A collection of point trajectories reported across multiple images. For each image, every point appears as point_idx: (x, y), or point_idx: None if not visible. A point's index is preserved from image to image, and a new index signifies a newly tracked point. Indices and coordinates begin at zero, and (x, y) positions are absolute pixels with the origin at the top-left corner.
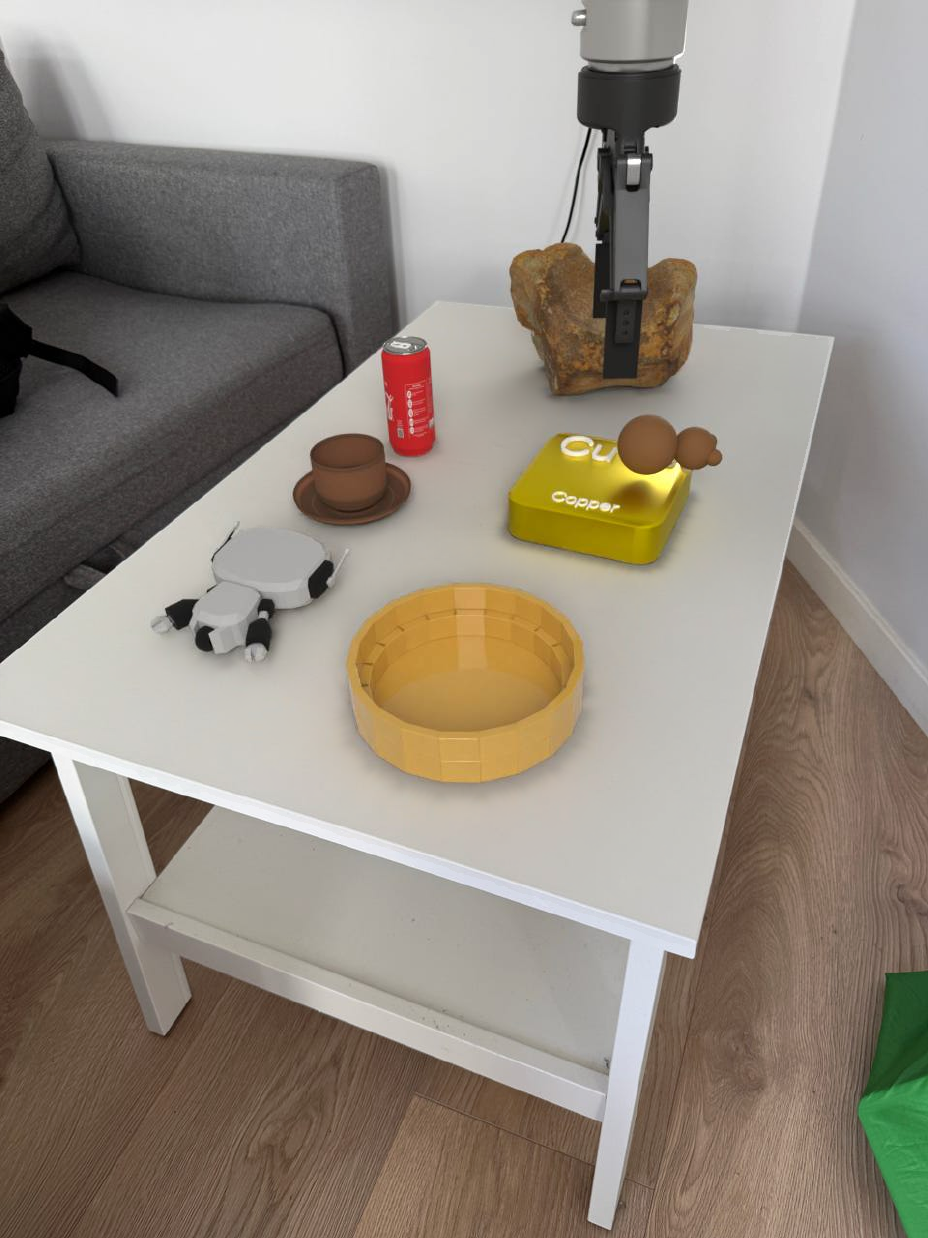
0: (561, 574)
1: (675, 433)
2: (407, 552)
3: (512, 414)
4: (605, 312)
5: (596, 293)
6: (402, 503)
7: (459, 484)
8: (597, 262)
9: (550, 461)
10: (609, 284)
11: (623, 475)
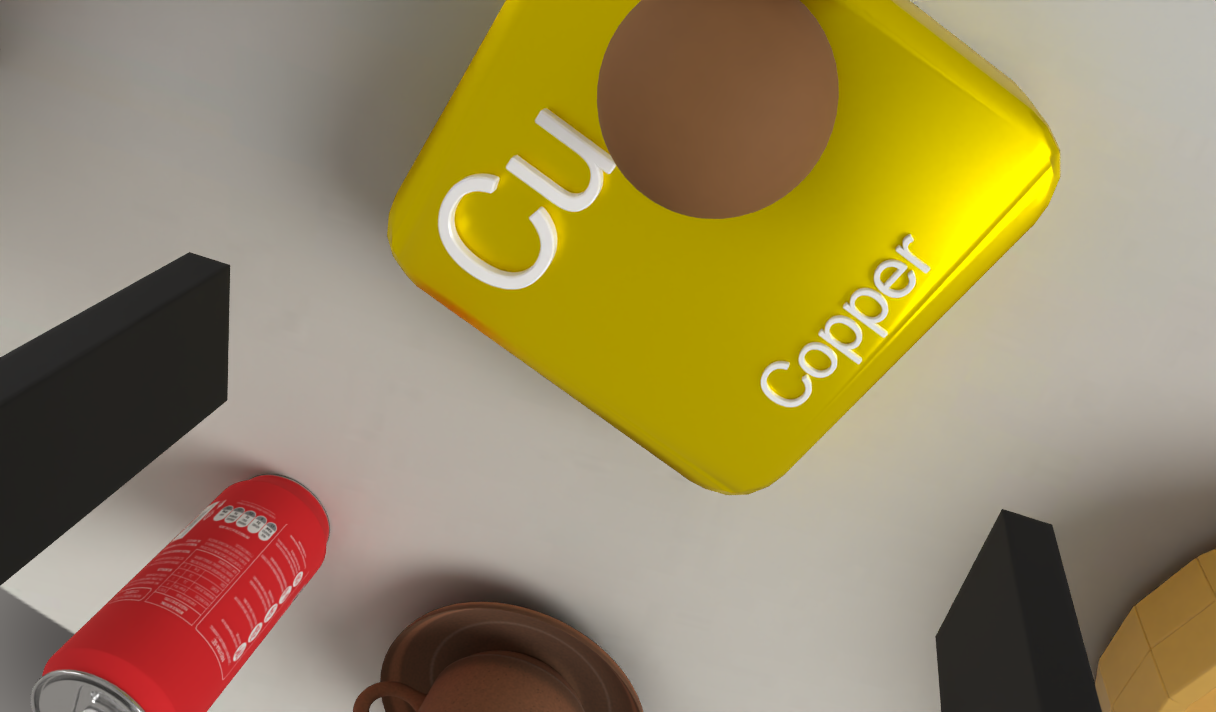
0: (975, 372)
1: (756, 4)
2: (749, 646)
3: (110, 231)
4: (212, 360)
5: (143, 458)
6: (590, 641)
7: (476, 468)
8: (7, 569)
9: (567, 335)
10: (108, 425)
11: None
